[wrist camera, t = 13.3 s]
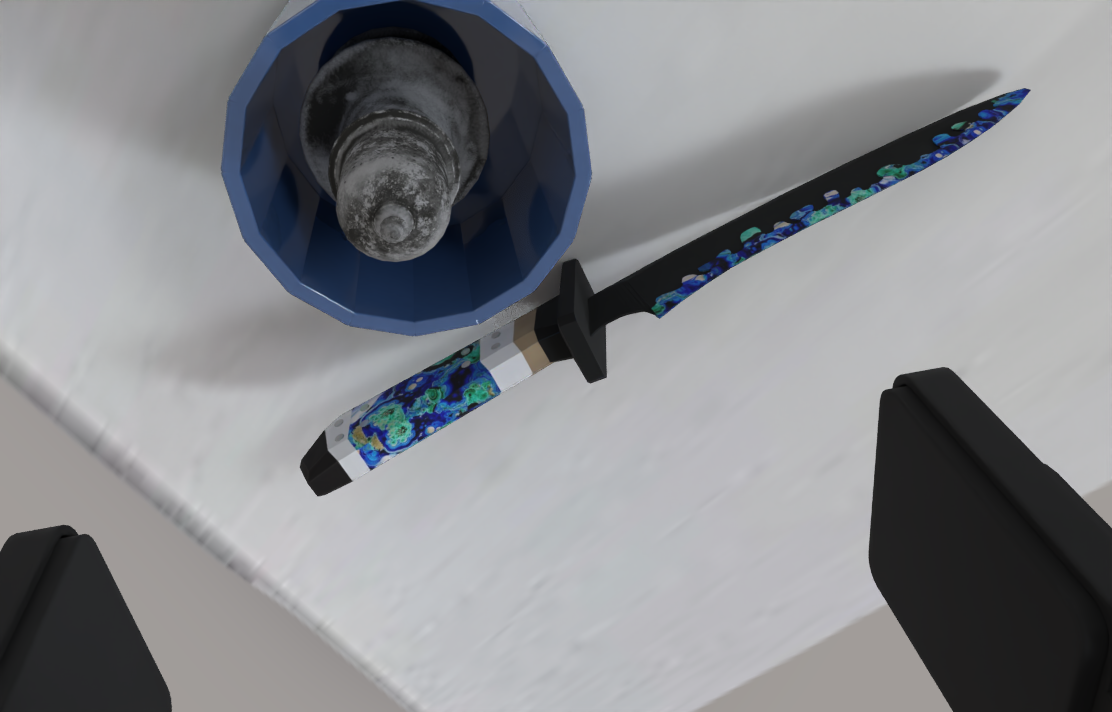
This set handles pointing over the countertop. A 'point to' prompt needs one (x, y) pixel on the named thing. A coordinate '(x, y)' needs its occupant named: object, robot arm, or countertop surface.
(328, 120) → the salt shaker
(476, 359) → the knife
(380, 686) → the countertop surface
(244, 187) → the blue cup
